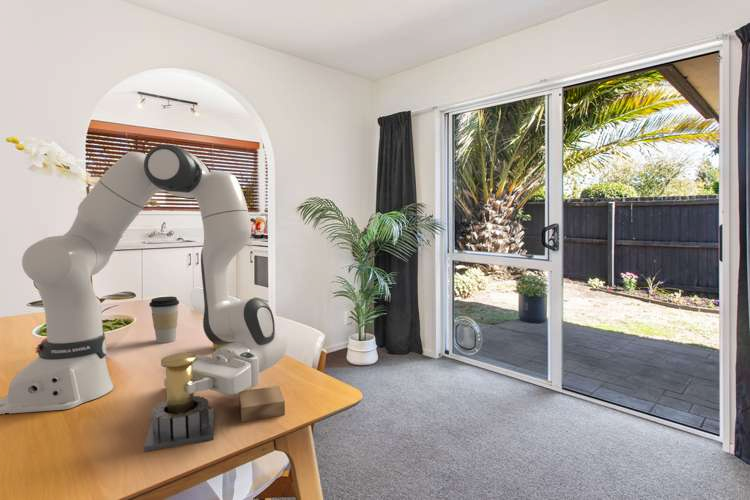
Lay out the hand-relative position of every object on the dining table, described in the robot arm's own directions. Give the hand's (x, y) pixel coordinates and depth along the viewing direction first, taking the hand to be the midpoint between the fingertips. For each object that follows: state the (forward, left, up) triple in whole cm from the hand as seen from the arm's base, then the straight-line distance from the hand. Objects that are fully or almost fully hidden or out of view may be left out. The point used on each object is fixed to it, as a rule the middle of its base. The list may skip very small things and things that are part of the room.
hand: (176, 386), depth 84 cm
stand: (+17, +5, -9) cm, 20 cm away
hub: (+1, +1, -9) cm, 10 cm away
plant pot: (+10, +56, -10) cm, 57 cm away
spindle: (+1, +1, -6) cm, 7 cm away
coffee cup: (-9, +72, -10) cm, 73 cm away
